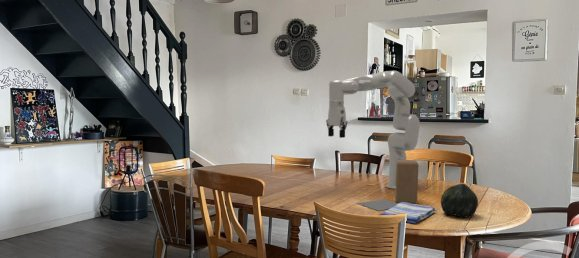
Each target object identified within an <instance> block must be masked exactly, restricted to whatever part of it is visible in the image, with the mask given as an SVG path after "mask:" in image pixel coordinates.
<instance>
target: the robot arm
mask: <svg viewBox="0 0 579 258" xmlns="http://www.w3.org/2000/svg"><path fill="white" fill-rule="evenodd" d="M328 83H329V84H328V86H329V88H328V89H329V90H328V97H329V98H328V100H329V101H328V105H329V106H328V107H329V108H328V113H327V114H328V116H327V119H326V120H325V123H326V126H327V127H326V128H327V129H328V130H327V131H328V132H327V133H328V136H327V137H334V135H335V131H334V130H335V129H334V127H338V128H339V138H342V139H343V138H346V130H347V127H348V123H349V122H348V120H347V114H346V108H345V104H344V103H345V99H344V98H345V97H344V96H346V95H354V94H356V93H358V92H367V91H374V90H376V89H383V88H386V87H387V92H388V94H389V96H390V98H392V100H393V101H394V112H393V120H392V126H393V128H394V129H395V130H398V131H403V132H398V131H397V132H392V133H391V134H389V136H388V137H387V145H388V154H389V156H388V157H389V160H388V161H389V163H388V164H389V165H388V169H389V171H388V183H387V184H386V188H388V189H394V190H395V184H396V161H397V160H407V154H406V151H408V152H409V151H413V150H415V149H416V147H417V144H418V142H419V141H418V140H419V132H420V126H421V124H420V123H421V122H420V118H419V117H418V116H417V115H416V114H413V113H410V112H411V103H410V100H409V99H408V98H411V97H413V96H414V95H415V93H416V88H415V85H414V83H413V82H412V81H411V80H409V79H408V78H407V76H405V75H404V74H403V73H401V72H400V71H397V70H388V71H387V70H386V71H380V72H375V73H371V74H366V75H361V76H357V77H353V78H348V79H347V78H346V79H343V80H341V79H338V80H336V79H335V80H330V81H329V82H328Z"/></svg>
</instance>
